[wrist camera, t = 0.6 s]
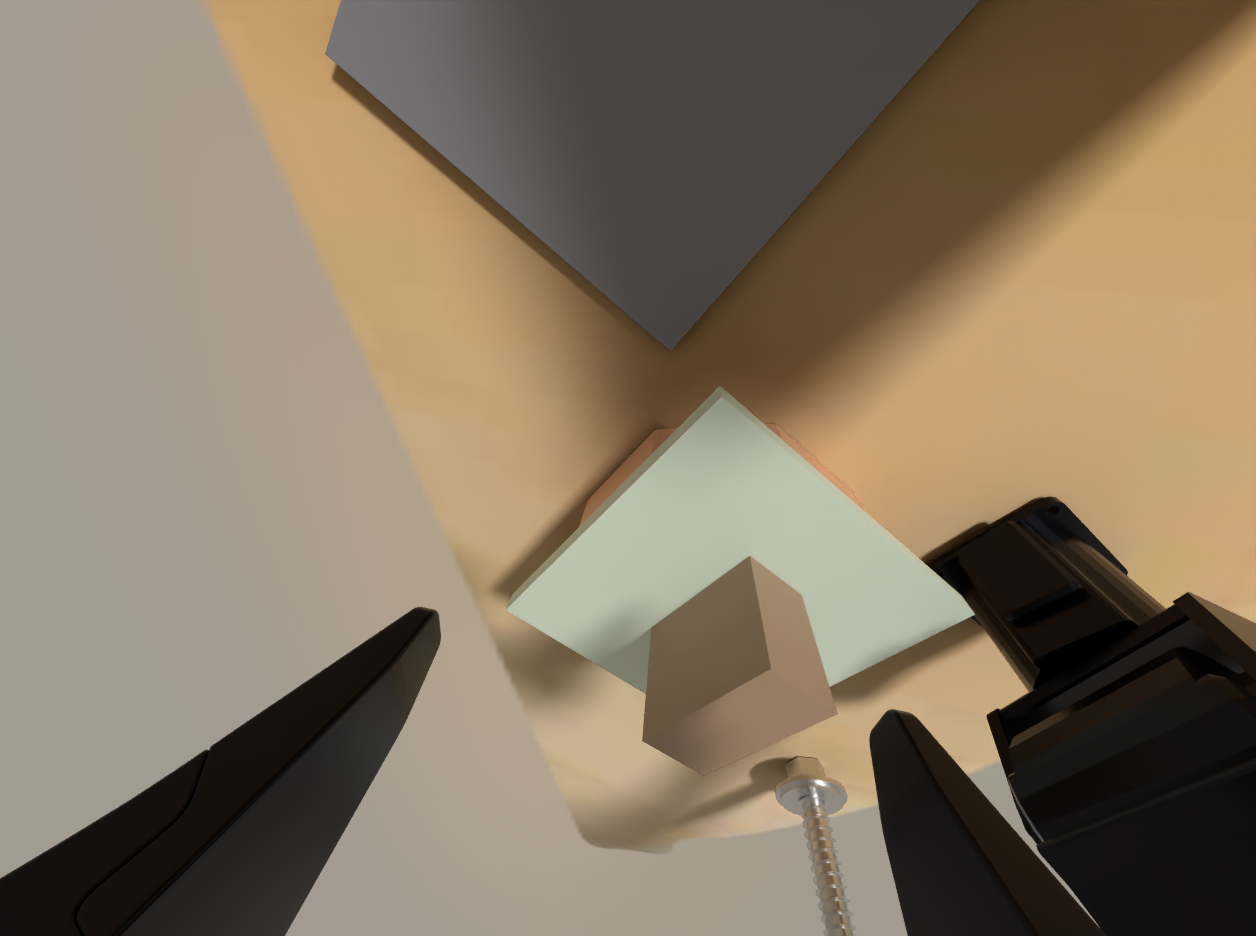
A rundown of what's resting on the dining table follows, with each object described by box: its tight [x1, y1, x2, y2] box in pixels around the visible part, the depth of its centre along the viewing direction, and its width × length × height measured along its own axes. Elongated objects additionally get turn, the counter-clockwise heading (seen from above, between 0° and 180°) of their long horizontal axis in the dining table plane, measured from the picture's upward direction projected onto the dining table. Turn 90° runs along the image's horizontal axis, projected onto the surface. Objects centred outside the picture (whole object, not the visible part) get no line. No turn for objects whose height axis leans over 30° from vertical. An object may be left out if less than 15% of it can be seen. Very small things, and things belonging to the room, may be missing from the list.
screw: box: [775, 757, 856, 936], centre depth 28 cm, size 13×5×5 cm
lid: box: [506, 386, 975, 776], centre depth 17 cm, size 14×14×6 cm
